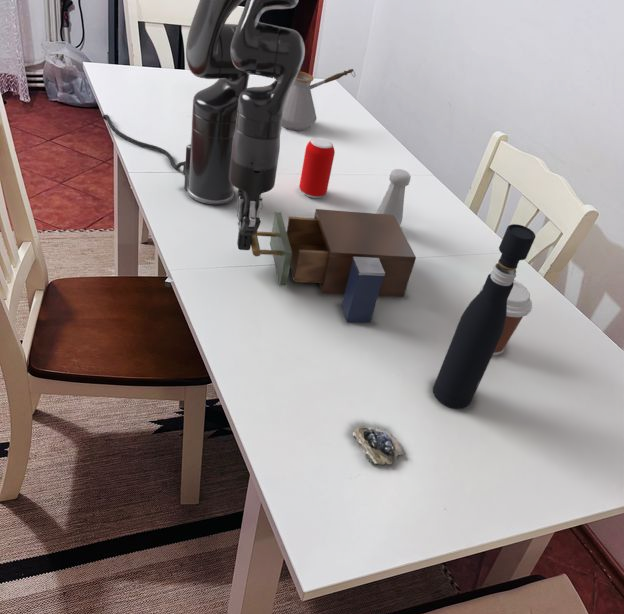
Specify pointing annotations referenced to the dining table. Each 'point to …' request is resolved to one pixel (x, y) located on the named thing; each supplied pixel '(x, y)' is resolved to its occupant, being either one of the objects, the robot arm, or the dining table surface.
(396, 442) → the mineral rock
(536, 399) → the dining table surface
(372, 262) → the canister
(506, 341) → the coffee cup
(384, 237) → the cabinet
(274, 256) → the drawer
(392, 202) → the salt shaker
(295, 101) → the coffee pot
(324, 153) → the beverage can
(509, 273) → the black bottle
